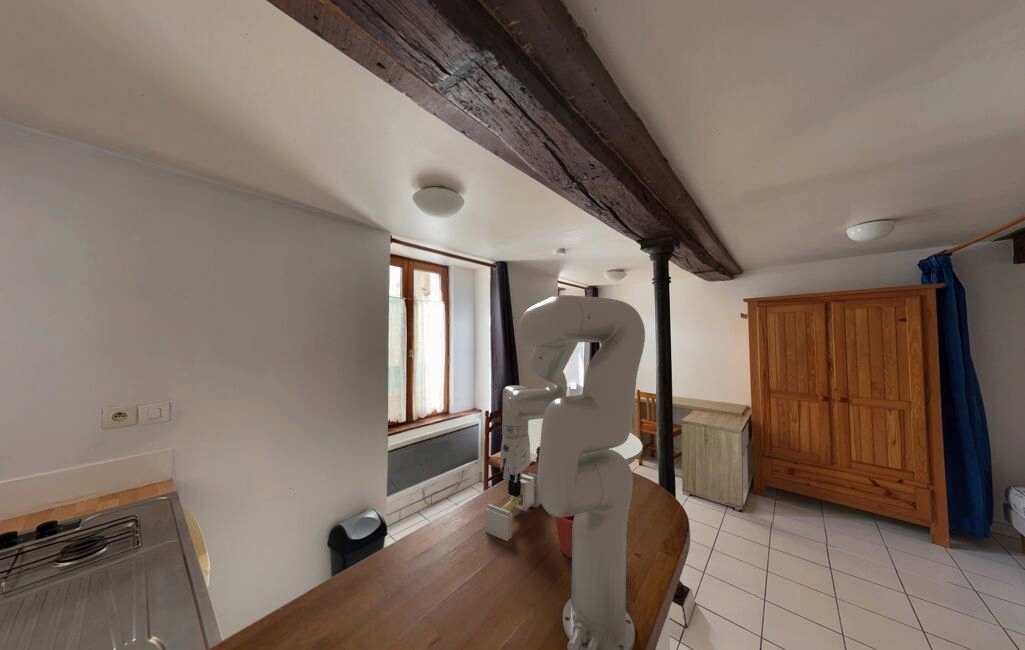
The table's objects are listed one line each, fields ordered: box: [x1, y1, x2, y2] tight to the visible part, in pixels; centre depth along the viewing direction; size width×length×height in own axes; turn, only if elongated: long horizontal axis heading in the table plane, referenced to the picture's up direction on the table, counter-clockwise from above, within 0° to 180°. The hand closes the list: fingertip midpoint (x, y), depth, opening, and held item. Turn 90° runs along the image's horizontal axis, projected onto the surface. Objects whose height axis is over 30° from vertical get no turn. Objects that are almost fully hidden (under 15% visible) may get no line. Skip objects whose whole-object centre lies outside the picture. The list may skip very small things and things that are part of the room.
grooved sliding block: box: [509, 473, 534, 512], centre depth 94 cm, size 5×5×8 cm
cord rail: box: [485, 472, 542, 542], centre depth 92 cm, size 21×7×9 cm, turn 148°
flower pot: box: [554, 515, 575, 559], centre depth 79 cm, size 11×11×10 cm
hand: (514, 494), depth 90 cm, fingers closed
